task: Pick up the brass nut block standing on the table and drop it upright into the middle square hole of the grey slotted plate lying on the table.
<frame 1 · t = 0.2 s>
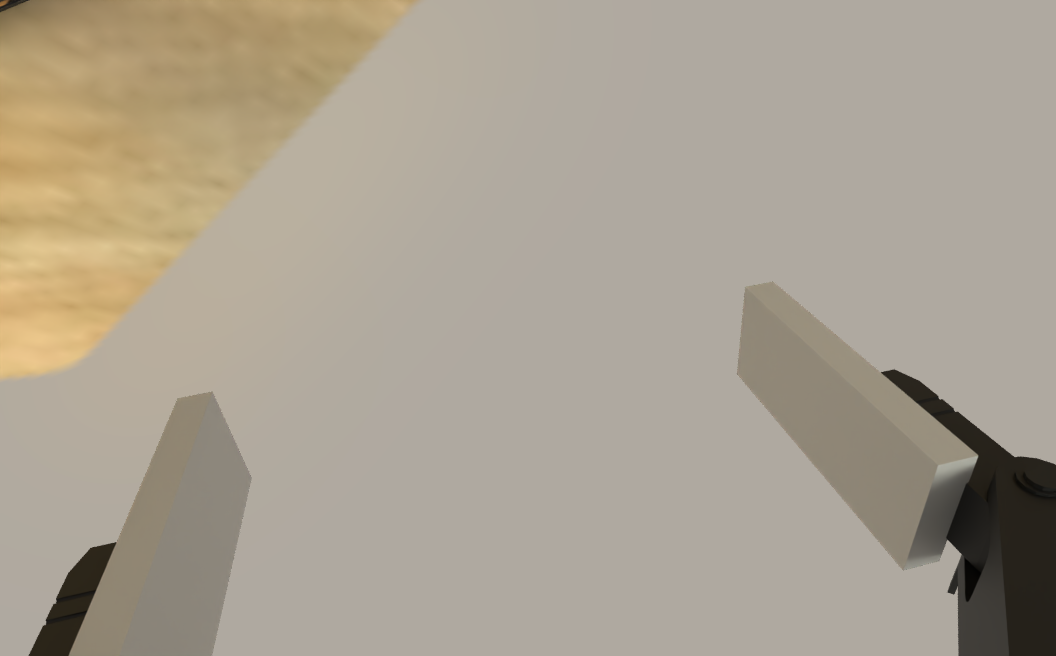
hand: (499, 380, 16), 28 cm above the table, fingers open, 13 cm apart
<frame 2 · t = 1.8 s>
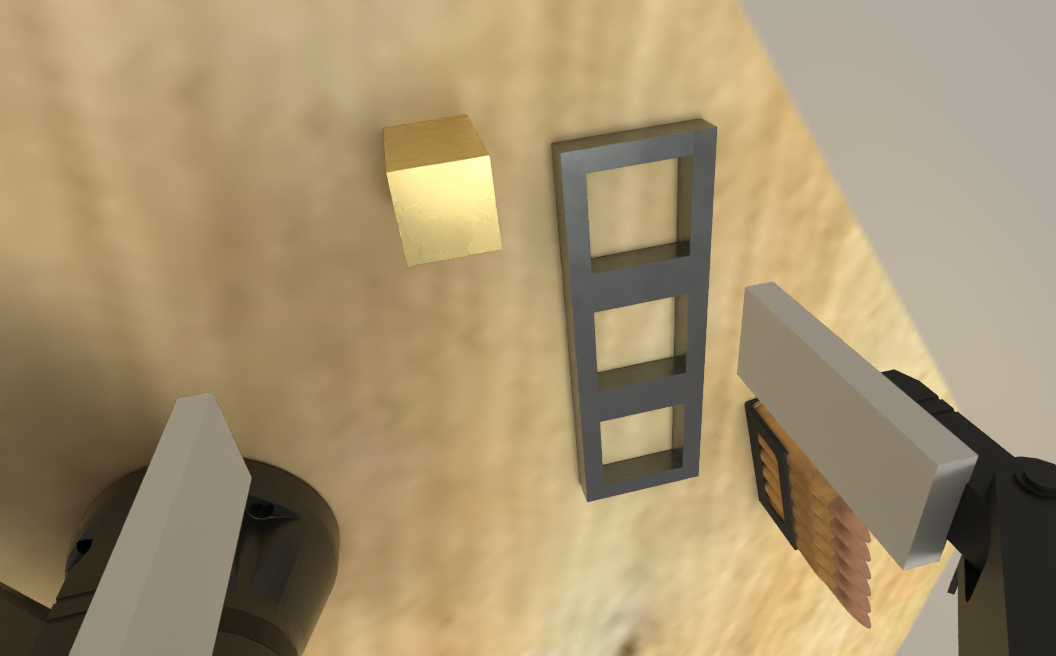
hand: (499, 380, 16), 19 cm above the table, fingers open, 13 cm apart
grey slotted plate: (631, 328, 39), on the table
nut block: (433, 162, 32), on the table
ammunition clip: (762, 448, 47), on the table
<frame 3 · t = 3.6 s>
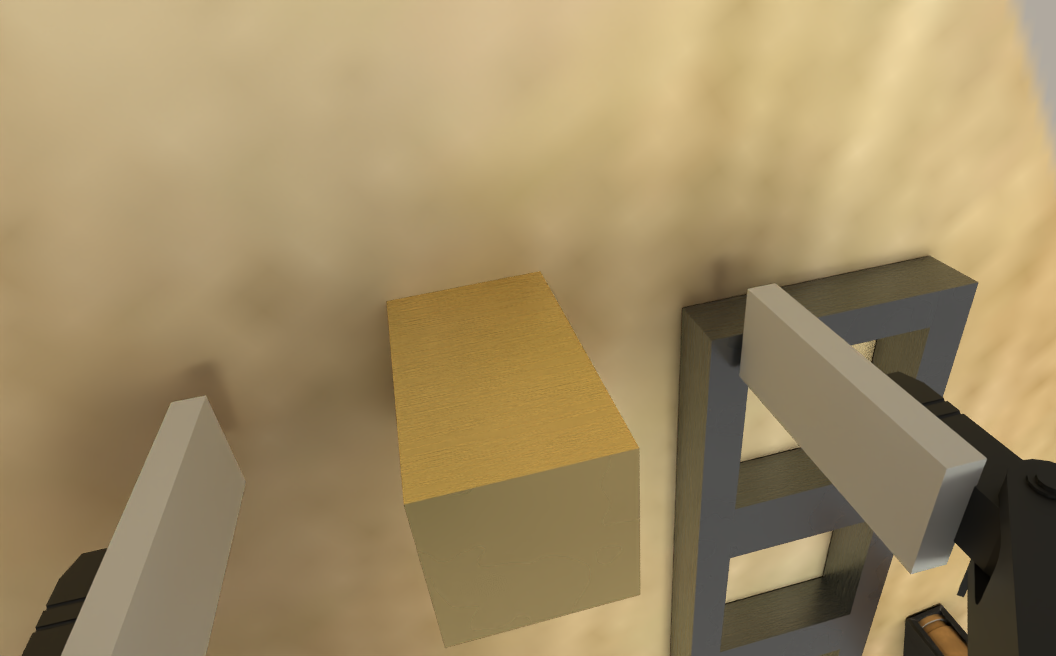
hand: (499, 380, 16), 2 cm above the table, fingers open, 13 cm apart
grey slotted plate: (768, 550, 25), on the table
nut block: (475, 350, 17), on the table
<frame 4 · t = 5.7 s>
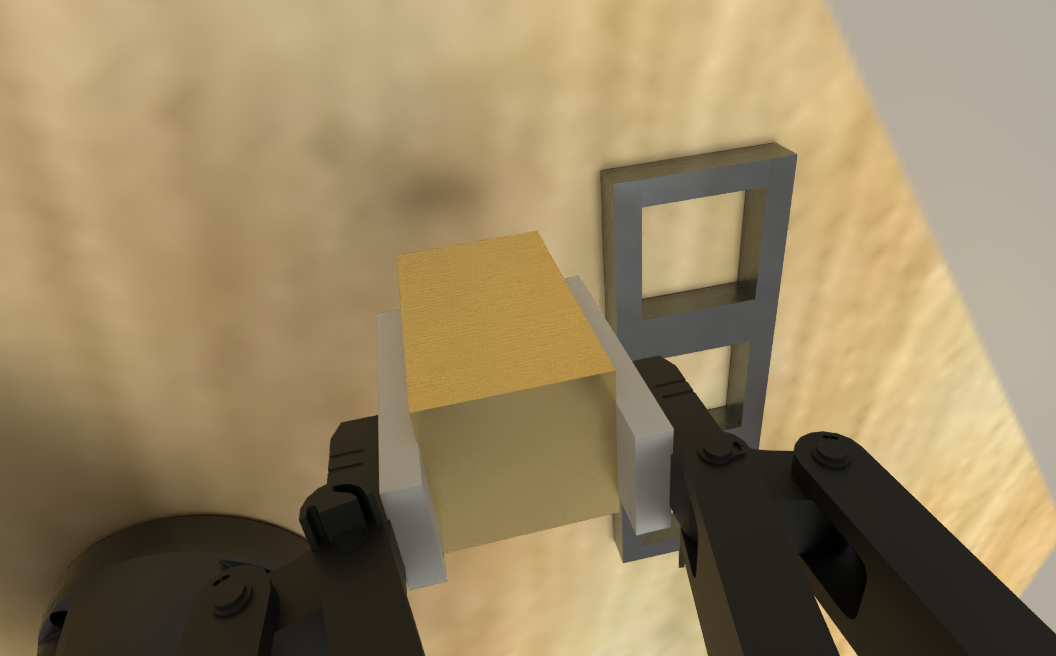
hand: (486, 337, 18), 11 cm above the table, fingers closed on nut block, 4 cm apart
grey slotted plate: (680, 376, 34), on the table
nut block: (477, 304, 19), point 9 cm above the table, touching gripper
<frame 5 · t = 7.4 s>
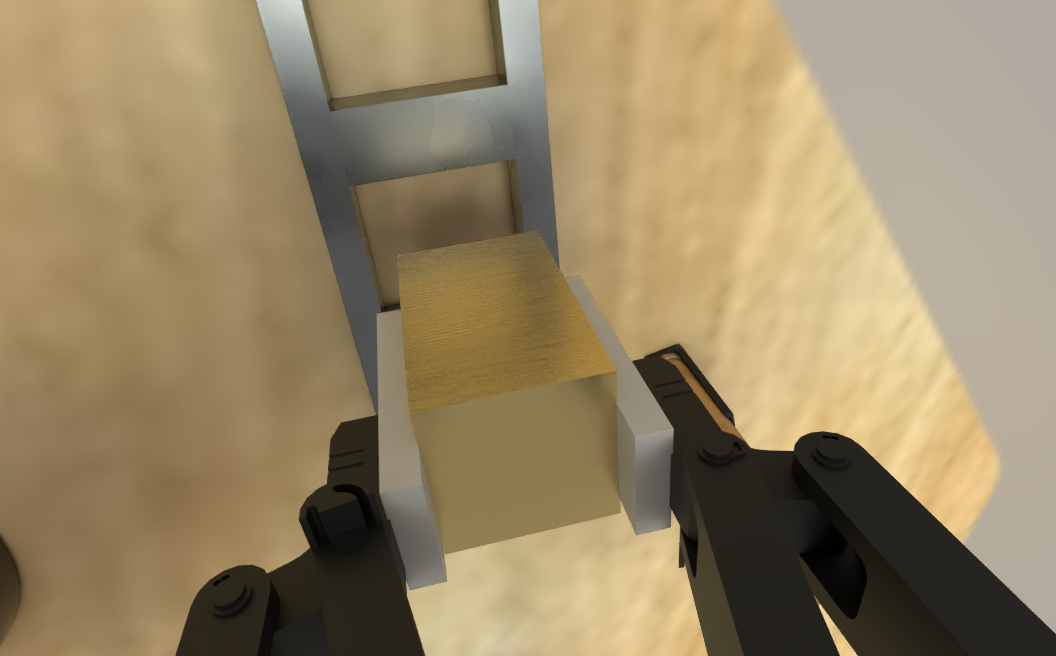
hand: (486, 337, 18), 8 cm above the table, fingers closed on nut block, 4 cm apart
grey slotted plate: (442, 229, 24), on the table
nut block: (477, 304, 19), point 6 cm above the table, touching gripper
ammunition clip: (677, 427, 33), on the table
when the fingers open (2 cm above the table, at t = 9.1 s): nut block stays where it is, resting in grey slotted plate.
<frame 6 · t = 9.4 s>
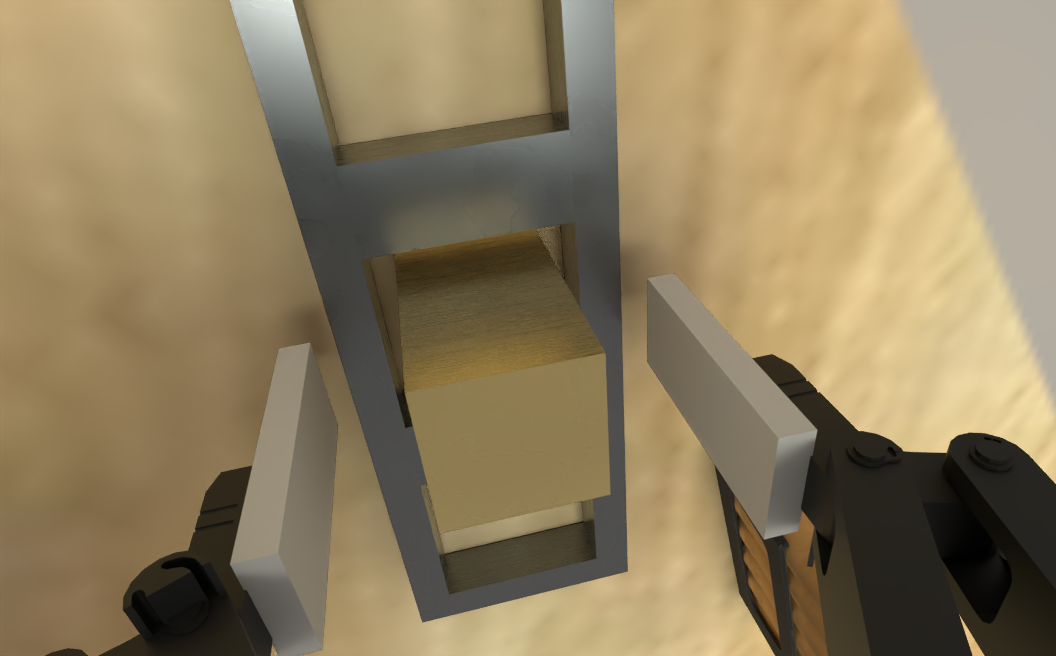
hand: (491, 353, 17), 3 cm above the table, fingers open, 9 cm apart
grey slotted plate: (476, 301, 20), on the table
nut block: (473, 295, 19), resting in grey slotted plate
ammunition clip: (744, 514, 28), on the table
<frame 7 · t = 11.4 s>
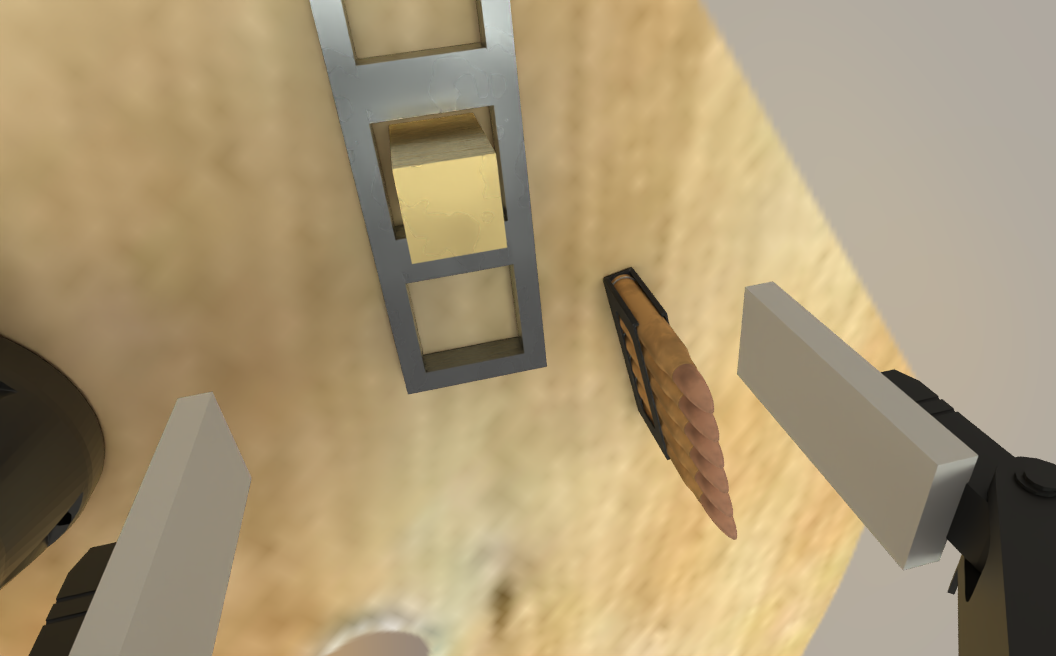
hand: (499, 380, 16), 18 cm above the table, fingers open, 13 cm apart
grey slotted plate: (439, 164, 32), on the table
nut block: (438, 160, 31), resting in grey slotted plate
ammunition clip: (634, 342, 40), on the table
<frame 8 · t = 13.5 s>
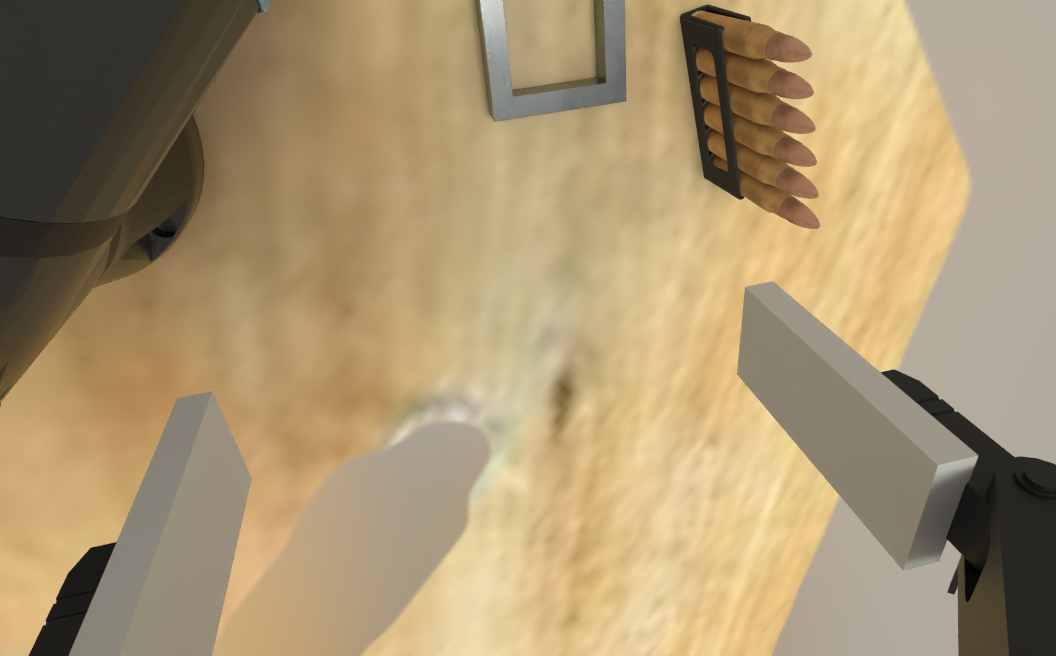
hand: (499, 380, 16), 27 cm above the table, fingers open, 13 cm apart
ammunition clip: (704, 96, 41), on the table
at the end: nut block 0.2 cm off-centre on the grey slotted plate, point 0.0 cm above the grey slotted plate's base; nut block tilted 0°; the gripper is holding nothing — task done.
